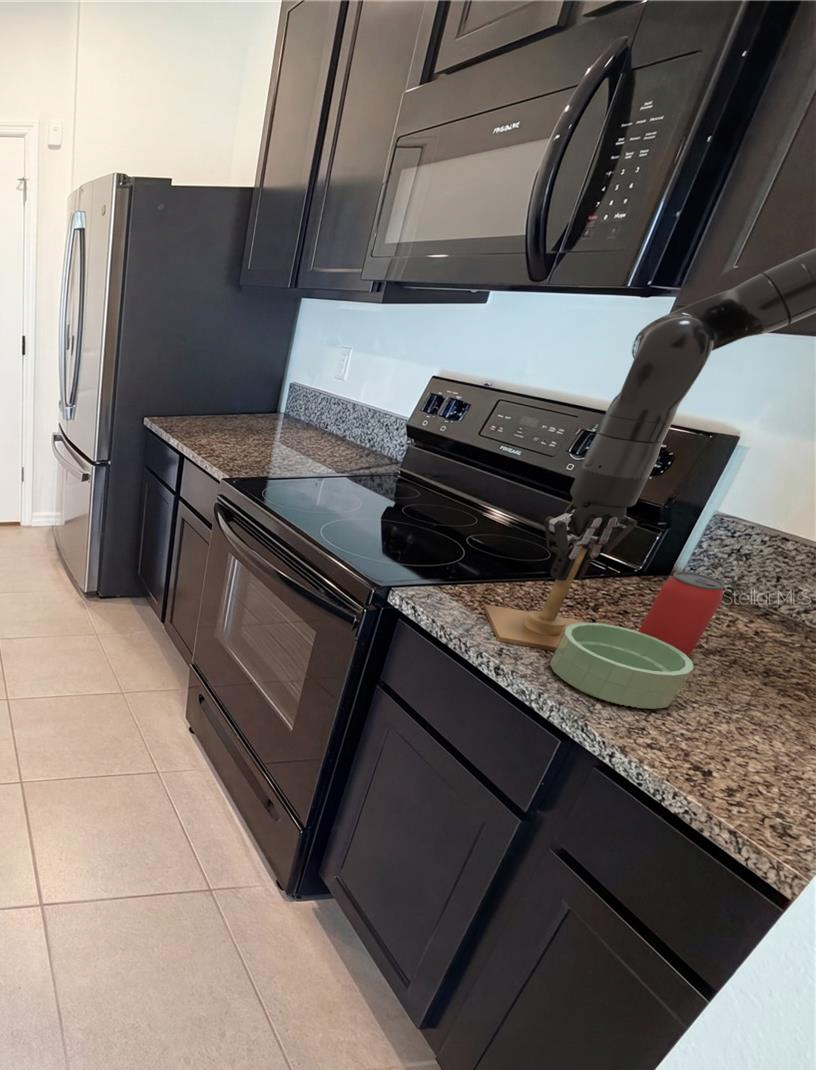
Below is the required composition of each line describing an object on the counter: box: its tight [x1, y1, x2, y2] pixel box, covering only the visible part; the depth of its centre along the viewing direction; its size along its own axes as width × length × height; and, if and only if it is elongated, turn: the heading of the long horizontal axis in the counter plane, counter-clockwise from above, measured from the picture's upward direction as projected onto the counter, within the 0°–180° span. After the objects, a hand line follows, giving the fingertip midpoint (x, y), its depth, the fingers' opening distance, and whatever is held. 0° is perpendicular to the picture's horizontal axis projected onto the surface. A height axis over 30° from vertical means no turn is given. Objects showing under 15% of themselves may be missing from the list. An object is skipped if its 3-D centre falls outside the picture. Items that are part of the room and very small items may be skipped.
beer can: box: [638, 571, 726, 657], centre depth 98 cm, size 7×7×12 cm
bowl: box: [549, 621, 694, 710], centre depth 91 cm, size 14×14×6 cm
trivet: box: [482, 603, 585, 652], centre depth 104 cm, size 14×12×1 cm
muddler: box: [524, 545, 587, 636], centre depth 101 cm, size 5×5×14 cm
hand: (565, 577), depth 100 cm, fingers closed on muddler, 2 cm apart
